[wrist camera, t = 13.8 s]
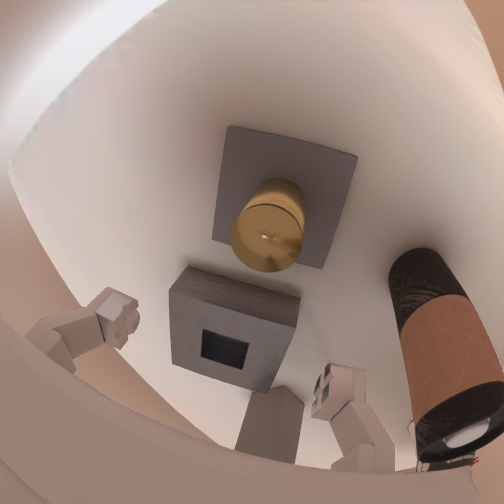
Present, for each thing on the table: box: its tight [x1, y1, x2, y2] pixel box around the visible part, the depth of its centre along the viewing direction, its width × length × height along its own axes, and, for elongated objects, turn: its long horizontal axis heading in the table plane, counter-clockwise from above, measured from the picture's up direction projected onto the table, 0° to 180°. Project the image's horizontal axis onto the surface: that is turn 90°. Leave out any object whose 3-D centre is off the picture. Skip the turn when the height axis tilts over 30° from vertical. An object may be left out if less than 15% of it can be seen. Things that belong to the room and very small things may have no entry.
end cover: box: [231, 178, 306, 272], centre depth 23 cm, size 5×5×8 cm
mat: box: [212, 126, 358, 269], centre depth 26 cm, size 12×12×1 cm
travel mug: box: [389, 248, 504, 463], centre depth 18 cm, size 8×8×20 cm
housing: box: [169, 266, 300, 394], centre depth 34 cm, size 14×14×5 cm
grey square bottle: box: [234, 386, 304, 464], centre depth 36 cm, size 7×7×18 cm
